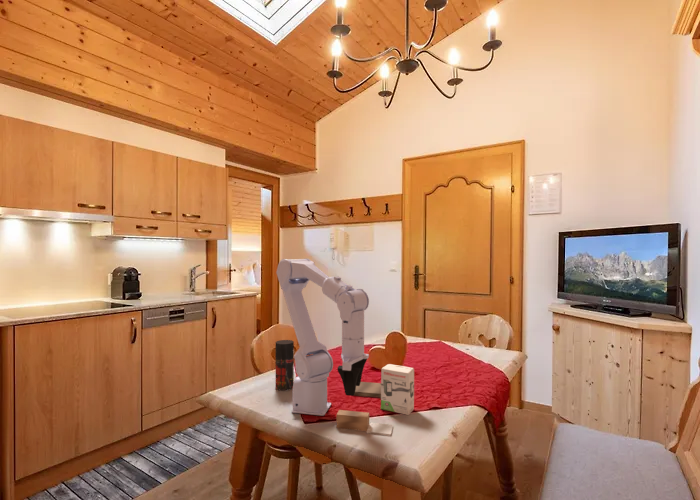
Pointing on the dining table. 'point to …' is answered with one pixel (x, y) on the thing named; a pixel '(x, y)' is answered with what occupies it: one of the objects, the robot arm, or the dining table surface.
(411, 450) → the dining table surface
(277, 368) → the deodorant
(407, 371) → the ink box
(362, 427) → the blocks
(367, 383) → the board
